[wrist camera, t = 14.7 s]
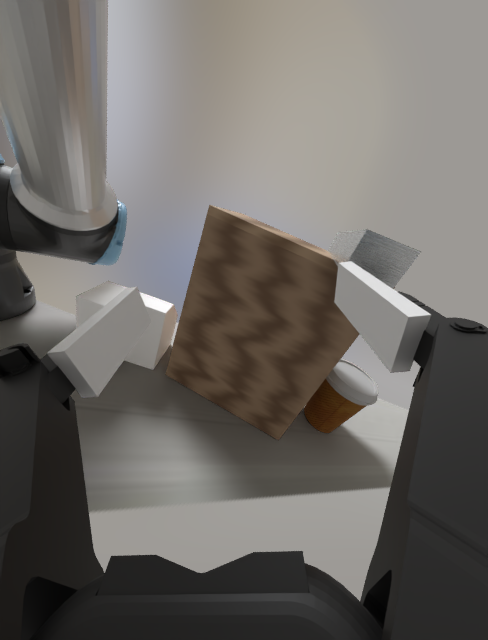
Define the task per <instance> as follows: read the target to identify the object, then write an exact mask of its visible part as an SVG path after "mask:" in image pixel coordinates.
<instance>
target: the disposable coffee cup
mask: <svg viewBox="0 0 488 640" xmlns="http://www.w3.org/2000/svg"><path fill="white" fill-rule="evenodd" d="M378 393H379V389H378V386H377V384H376V383H375V382H374V380H373V379H372V378H371V377H370V376H369V375H368V374H367V373H366V372H365V371H364V370H362V369H361V368H360V367H358V366H357V365H355V364H353V363H351V362H349V361H347V360H344V359H340V360H339V362H338V363H337V364H336V366H335V367H334V368H333V369H332V371H331V372H330V373H329V375H328V376H327V377H326V379H325V380H324V381H323V383H322V384H321V385H320V387H319V388H318V389H317V390H316V392H315V393H314V394H313V396H312V397H311V398H310V400H309V401H308V402H307V404H306V406H305V408H304V413H305V416H306V418H307V420H308V421H309V423H310V424H311V425H312V426H313V427H314V428H316V429H317V430H319V431H321V432H324V433H330V432H332V431H333V430H334V429H336V428H337V427H338V426H340V425H341V424H342V423H344V422H345V421H347V420H348V419H349V418H351V417H352V416H353V415H355V414H356V413H357V412H359V411H360V410H361V409H363V408H364V407H366V406H367V405H371V404H374V403H375V402H376V401H377V396H378Z"/></svg>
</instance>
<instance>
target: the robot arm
mask: <svg viewBox="0 0 488 640" xmlns="http://www.w3.org/2000/svg"><path fill="white" fill-rule="evenodd" d="M107 24H108V0H0V118H1V120H2V123H3V126H4V128H5V131H6V133H7V136H8V138H9V141H10V144H11V146H12V149H13V152H14V154H15V157H16V159H17V162H18V163H17V164H16V165H15V166H14V168H11V167H8V166H6V165H4V163H5V160H4V159H3V158H2V155H1V154H0V320H4V319H8V318H11V317H14V316H17V315H19V314H22V313H24V312H25V311H27V310H29V309H30V308H31V307H32V306H33V305H34V303H35V301H36V297H35V289H34V287H33V285H32V283H31V281H30V280H29V278H28V276H27V275H26V273H25V272H24V270H23V268H22V267H21V265H20V263H19V262H18V260H17V257H16V251H21V252H28V253H33V254H39V255H45V256H51V257H57V258H63V259H70V260H75V261H81V262H87V263H89V264H92V265H95V264H101V265H113V264H114V263H116V262H117V260H118V258H119V256H120V253H121V249H122V245H123V243H122V242H123V240H124V237H125V230H126V222H127V221H126V220H127V210H126V206H125V205H124V204H123V203H122V202H120V201H118V200H117V198H116V195H115V193H114V191H113V189H112V187H111V186H110V185H109V183H108V182H107V181H106V150H107V148H106V147H107V145H106V144H107V139H106V138H107V30H108V28H107V27H108V25H107ZM334 302H335V304H336V305H337V306H338V307H339V309H340V310H341V311H342V312H343V314H344V315H345V316H346V317H347V319H348V320H349V321H350V322H351V324H352V325H353V326H354V327H355V329H356V330H357V331H358V333H359V334H360V335H361V336H362V338H363V339H364V340H365V341H366V342H367V344H368V345H369V346H370V348H371V349H372V350H373V351H374V353H375V354H376V355H377V356H378V357H379V359H380V360H381V361H382V363H383V364H384V365H385V366H386V368H387V369H388V370H389V371H390V373H393V372H405V371H410V369H411V366H412V363H413V361H414V360H415V361H416V362H417V363H418V364H419V365H420V366H421V368H420V370H419V372H418V375H417V377H416V379H415V382H414V384H413V387H415V388H414V392H413V396H412V401H411V405H410V409H409V413H408V417H407V421H406V426H405V430H404V434H403V438H402V442H401V446H400V451H399V455H398V459H397V463H396V467H395V472H394V476H393V480H392V484H391V488H390V492H389V497H388V501H387V505H386V509H385V513H384V518H383V522H382V526H381V530H380V534H379V539H378V543H377V546H376V549H375V552H374V555H373V558H372V560H371V563H370V566H369V570H368V573H367V577H366V580H365V585H364V589H363V592H362V597H361V601H359V600H358V599H357V598H356V597H355V596H354V595H353V594H352V593H351V592H349V591H348V590H347V589H346V588H345V587H344V586H343V585H342V584H341V583H339V582H338V581H336V580H335V579H334V578H332V577H331V576H330V575H328V574H326V573H325V572H323V571H321V570H319V569H318V568H316V567H313V566H311V565H308V564H305V563H304V557H303V552H302V551H291V552H290V551H288V552H253V553H251V554H248V555H246V556H244V557H241V558H239V559H237V560H234V561H232V562H229V563H227V564H225V565H223V566H220V567H218V568H215V569H213V570H210V571H208V572H206V573H197V572H195V571H192V570H190V569H188V568H185V567H183V566H181V565H178V564H176V563H174V562H171V561H169V560H166V559H164V558H162V557H160V556H157V555H132V556H111V558H110V561H109V563H108V566H107V569H106V572H105V573H104V571H103V569H102V567H101V565H100V563H99V562H98V560H97V558H96V556H95V553H94V549H93V544H92V535H91V527H90V520H89V512H88V504H87V496H86V488H85V481H84V473H83V465H82V457H81V449H80V442H79V434H78V426H77V418H76V411H75V403H74V400H73V399H72V398H71V396H70V395H71V394H72V393H73V391H74V390H75V389H76V391H77V392H78V393H79V394H80V396H81V397H82V398H89V397H98V396H99V394H100V393H101V392H102V390H103V389H104V387H105V386H106V385H107V383H108V382H109V380H110V379H111V378H112V376H113V375H114V373H115V372H116V371H117V369H118V368H119V366H120V365H121V364H122V362H123V361H124V360H125V358H126V357H127V355H128V354H129V353H130V351H131V350H132V348H133V347H134V346H135V344H136V343H137V341H138V340H139V339H140V337H141V336H142V334H143V333H144V332H145V330H146V329H147V327H148V326H149V325H150V323H151V322H152V321H151V319H150V316H149V314H148V312H147V309H146V307H145V304H144V302H143V300H142V297H141V295H140V292H139V290H138V288H137V287H132V288H126V289H125V290H123V291H122V292H121V293H120V294H118V295H117V296H116V297H115V298H114V299H112V300H111V301H110V302H109V303H107V304H106V305H105V306H104V307H103V308H101V309H100V310H99V311H98V312H96V313H95V314H94V315H93V316H91V317H90V318H89V319H88V320H87V321H85V322H84V323H83V324H82V325H80V326H79V327H78V328H77V329H76V330H74V331H73V332H72V333H71V334H69V335H68V336H67V337H66V338H65V339H63V340H62V341H61V342H60V343H58V344H57V345H56V346H55V347H53V348H52V349H51V350H50V351H49V352H47V355H46V356H45V357H43V358H42V359H41V360H40V359H39V358H38V357H37V355H36V354H35V353H34V352H33V351H32V349H31V348H30V347H29V346H28V345H27V344H17V345H14V346H10V347H8V348H5V349H3V350H0V640H488V328H487V327H485V326H484V325H482V324H480V323H477V322H475V321H471V320H467V319H462V318H445V317H444V316H442V315H441V314H439V313H438V312H436V311H434V310H433V309H431V308H430V307H428V306H425V304H423V303H422V302H419V301H418V300H417V299H415V298H414V297H412V296H410V295H408V294H405V293H402V292H396V291H395V290H394V289H392V288H391V287H389V286H388V285H386V284H385V283H383V282H382V281H380V280H379V279H377V278H376V277H374V276H373V275H371V274H370V273H368V272H367V271H365V270H364V269H362V268H361V267H359V266H358V265H356V264H355V263H353V262H352V261H349V262H341V263H338V273H337V282H336V291H335V300H334Z"/></svg>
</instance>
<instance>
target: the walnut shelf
mask: <svg viewBox="0 0 488 640" xmlns="http://www.w3.org/2000/svg"><path fill="white" fill-rule="evenodd" d="M337 273H338V267H337V265H336V263H335V262H334V260H333V258H332V257H331V255H330V253H329V252H328V251H326V250H324V249H322V248H319V247H317V246H315V245H312V244H310V243H308V242H306V241H303V240H301V239H299V238H296V237H294V236H292V235H289V234H287V233H285V232H282V231H280V230H278V229H276V228H274V227H271V226H269V225H267V224H264V223H262V222H260V221H257V220H255V219H253V218H251V217H248V216H246V215H244V214H241V213H237V212H234V211H230V210H226V209H222V208H218V207H215V206H211V205H209V209H208V213H207V216H206V220H205V224H204V228H203V232H202V236H201V240H200V244H199V247H198V251H197V255H196V259H195V263H194V266H193V270H192V274H191V278H190V282H189V286H188V290H187V293H186V298H185V301H184V305H183V309H182V313H181V317H180V320H179V324H178V328H177V332H176V336H175V340H174V343H173V347H172V351H171V355H170V359H169V363H168V366H167V370H166V374H165V375H167V376H168V377H170V378H172V379H174V380H175V381H177V382H179V383H181V384H182V385H184V386H186V387H187V388H189V389H191V390H193V391H194V392H196V393H198V394H199V395H201V396H203V397H205V398H206V399H208V400H210V401H212V402H213V403H215V404H217V405H218V406H220V407H222V408H224V409H225V410H227V411H229V412H230V413H232V414H234V415H236V416H237V417H239V418H241V419H243V420H244V421H246V422H248V423H249V424H251V425H253V426H255V427H256V428H258V429H260V430H261V431H263V432H265V433H267V434H268V435H270V436H272V437H274V438H275V439H277V440H279V439H280V438H281V436H282V435H283V434H284V432H285V431H286V430H287V429H288V427H289V426H290V425H291V423H292V422H293V421H294V419H295V418H296V417H297V415H298V414H299V413H300V411H301V410H302V409H303V408H304V406H305V405H306V404H307V402H308V401H309V400H310V398H311V397H312V396H313V394H314V393H315V392H316V390H317V389H318V388H319V387H320V385H321V384H322V383H323V381H324V380H325V379H326V377H327V376H328V375H329V373H330V372H331V371H332V369H333V368H334V367H335V366H336V364H337V363H338V362H339V360H340V359H341V358H342V356H343V355H344V354H345V352H346V351H347V350H348V348H349V347H350V346H351V344H352V343H353V342H354V341H355V339H356V338H357V337H358V335H359V333H358V331H357V330H356V329H355V327H354V326H353V325H352V324H351V322H350V321H349V320H348V319H347V317H346V316H345V315H344V314H343V312H342V311H341V310H340V309H339V307H338V306H337V305H336V304H335V302H334V300H335V291H336V282H337ZM394 288H395V287H394ZM394 288H393V289H394Z"/></svg>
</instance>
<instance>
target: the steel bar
mask: <svg viewBox="0 0 488 640" xmlns="http://www.w3.org/2000/svg"><path fill="white" fill-rule="evenodd" d="M328 252H329V253H330V255H331V257H332V258H333V260H334V262H335V263H336V265H337V267H338V263H341V262H349V261H352V262H353V263H355V264H356V265H358V266H359V267H361V268H362V269H364V270H365V271H367V272H368V273H370V274H371V275H373V276H374V277H376V278H377V279H379V280H380V281H382V282H383V283H385V284H386V285H388V286H389V287H391V288H392V289H393V288H394V287H395V286H396V284H397V283H398V282H399V280H400V279H401V277H402V276H403V275H404V274H405V272H406V271H407V270H408V269H409V267H410V266H411V265H412V263H413V262H414V261H415V259H416V258H417V257H418V255H419V254H420V253H421V251H418V250H416V249H414V248H411V247H409V246H406V245H404V244H401V243H399V242H396V241H394V240H392V239H389V238H387V237H384V236H382V235H380V234H377V233H375V232H372V231H370V230H367V229H365V230H355V231H346V232H338V234H337V235H336V237H335V239H334V241H333V243H332V244H331V246H330V248H329V250H328Z"/></svg>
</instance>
